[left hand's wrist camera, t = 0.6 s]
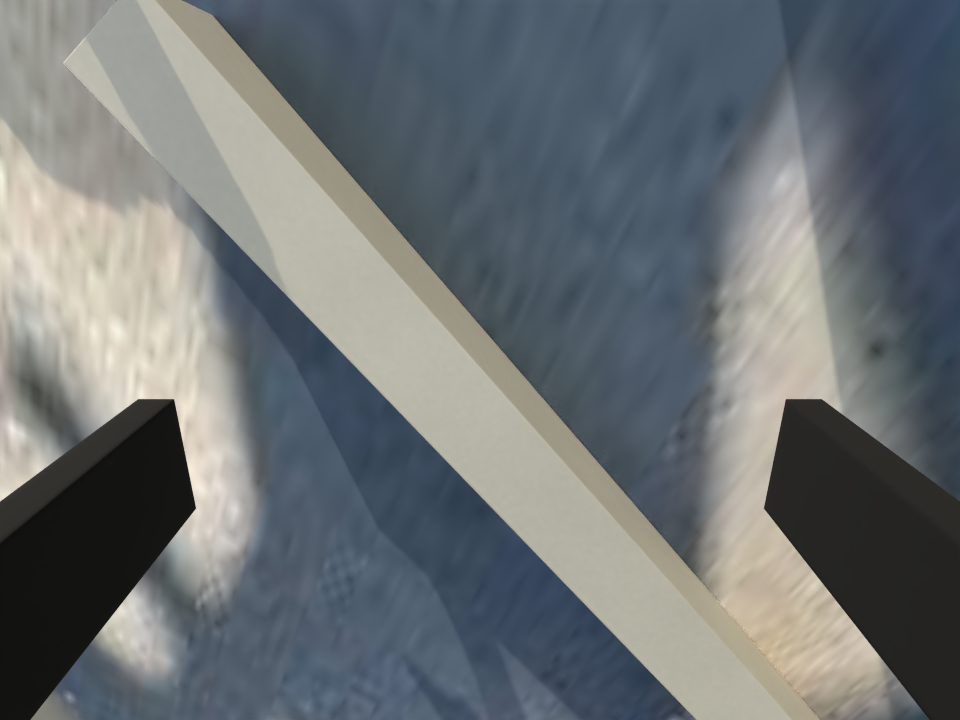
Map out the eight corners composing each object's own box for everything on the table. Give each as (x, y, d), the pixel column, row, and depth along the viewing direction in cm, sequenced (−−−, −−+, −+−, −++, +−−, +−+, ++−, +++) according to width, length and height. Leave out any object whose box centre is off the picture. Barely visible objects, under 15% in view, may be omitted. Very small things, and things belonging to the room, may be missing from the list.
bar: (151, 80, 32) (61, 63, 25) (212, 14, 31) (135, -23, 24) (819, 802, 53) (870, 900, 46) (870, 778, 52) (930, 875, 45)
